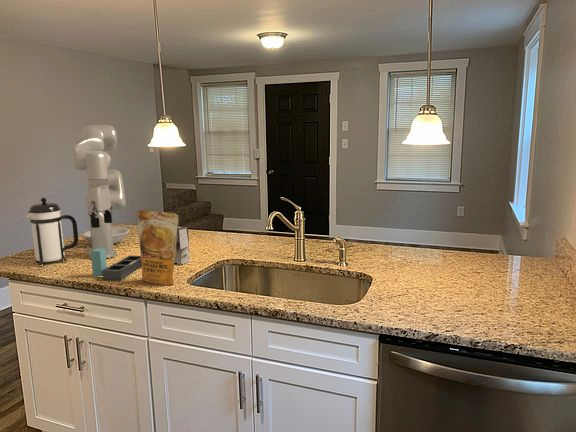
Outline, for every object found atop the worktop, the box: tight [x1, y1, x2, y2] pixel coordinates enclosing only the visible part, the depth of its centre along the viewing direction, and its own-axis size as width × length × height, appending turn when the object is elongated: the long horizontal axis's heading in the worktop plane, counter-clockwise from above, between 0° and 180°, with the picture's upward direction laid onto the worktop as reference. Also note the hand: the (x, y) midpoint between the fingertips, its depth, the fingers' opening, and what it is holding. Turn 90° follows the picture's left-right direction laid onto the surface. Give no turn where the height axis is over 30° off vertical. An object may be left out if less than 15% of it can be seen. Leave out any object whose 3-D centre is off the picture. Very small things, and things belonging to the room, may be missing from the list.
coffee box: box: [174, 225, 191, 265], centre depth 201 cm, size 9×6×16 cm
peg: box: [90, 249, 108, 277], centre depth 183 cm, size 4×4×11 cm
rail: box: [102, 255, 142, 281], centre depth 189 cm, size 8×22×4 cm, turn 172°
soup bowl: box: [81, 227, 131, 245], centre depth 238 cm, size 24×24×7 cm
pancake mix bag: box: [136, 209, 180, 286], centre depth 174 cm, size 7×19×28 cm, turn 64°
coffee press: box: [25, 197, 79, 266], centre depth 204 cm, size 17×16×30 cm
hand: (102, 225), depth 182 cm, fingers open, 9 cm apart
